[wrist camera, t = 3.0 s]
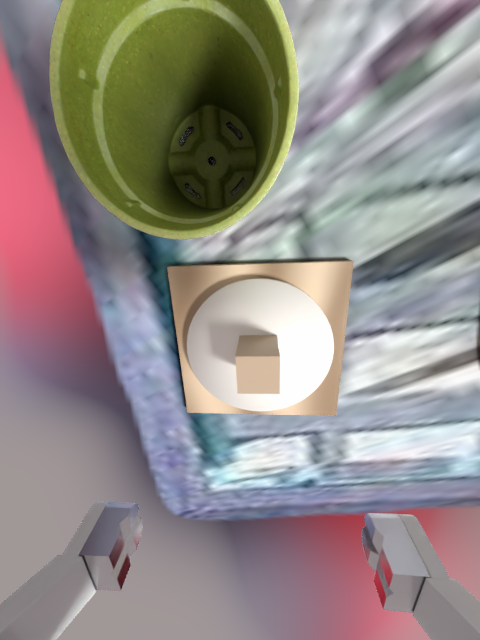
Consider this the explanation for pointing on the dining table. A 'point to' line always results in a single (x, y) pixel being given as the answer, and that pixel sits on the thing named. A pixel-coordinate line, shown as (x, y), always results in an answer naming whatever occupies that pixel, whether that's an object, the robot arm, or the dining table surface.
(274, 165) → the plant pot
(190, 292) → the mat
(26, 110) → the dining table surface
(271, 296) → the lid
